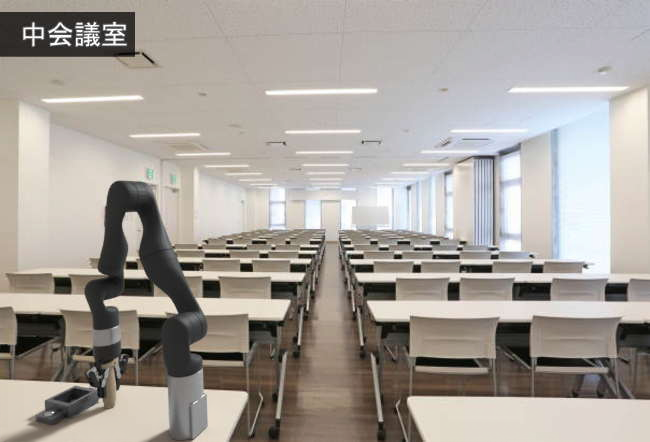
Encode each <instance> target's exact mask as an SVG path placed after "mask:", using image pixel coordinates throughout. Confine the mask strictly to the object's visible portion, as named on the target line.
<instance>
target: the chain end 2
mask: <svg viewBox="0 0 650 442" xmlns="http://www.w3.org/2000/svg"><path fill="white" fill-rule="evenodd" d="M72 387H73V388H74V393H75V400H73V401H71V402H70V404H72V407H73V417H72V418H74V417H75V416H77V415H79V414H81V413H82V412H84V411H86V410H88V409H90V408H91V407H93V406H95V405H96V404H99V402H100V401H99V400H100V399H101V398H99V397H98V395H97V388H95V387H91V386H89V387H83V386H79V385H73V386H72Z"/></svg>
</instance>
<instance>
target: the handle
mask: <svg viewBox="0 0 650 442" xmlns="http://www.w3.org/2000/svg"><path fill="white" fill-rule="evenodd" d="M117 360H118V357H117V358H115V359H113V360H111V361H109V362H107V363H104V364H102V365H101V367H102V369H106V368H110V369H109V373H108V378H107V379H106V383H105V386H106V397H105V398H101V399H102V403H103V408H104V410H110V409H112V408H114V407H115V406H116V403H117V391H116V380H115V371H114V366H115V365H116V364H117ZM102 375H104V374H102Z"/></svg>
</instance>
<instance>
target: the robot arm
mask: <svg viewBox="0 0 650 442" xmlns="http://www.w3.org/2000/svg"><path fill="white" fill-rule="evenodd" d="M106 195H107V196H106V202H105V204H106V206H105V217H104V235H103V242H102V247H101V251H100V255H99V258H98V261H97V271H98V272H99V273H100V274H101V275H105V276H106V277H101V278H95V279H91V280H89V281H88V282H87V283H86V284H85V286H84V291H83V293H84V297H85V300H86V301H87V302H86V303H87V305H88V308H89V310H90V314H91V316H92V334H91V335H92V355H93V356H92V357H93V359H94V364H93V366H92V368H90V369H89V370H88V369H87V370H85V371H84V376H85V378H86V380H87V382H88V385H89V387H91V388H97V395H98V397H99V398H100V399H102V398H105V397H106V386H105V383H106V379H107V378H108V373H109V369H110V368H106V369H102V367H101V365H102V364H104V363H107V362H109V361H111V360H113V359H115V358H117V357H118V360H117V364H116V365H115V366H114V371H115V380H116V392H117V391H120V387H121V377H122V376H123V375H125V374H126V371H127V367H128V363H129V360H130V359H129V357H130V355H129V354H126V353H122V335H121V334H122V333H121V326H120V313H119V308H118V306H114V305H108V306H107V305H106V304H105V303H104V302H105V301H108V300H113V299H115V298H117V297H119V296H120V295H122V294H123V292H124V290H125V272H124V270H125V269H124V268H125V266H126V265H125V264H126V262H127V258H128V253H129V242H128V240H127V237H126V236H125V231H124V228H123V220H124V218H125V216H126V213H137V215H138V217H139V219H140V222H141V226H142V235H141V240H140V243H139V247H138V248H139V249H138V257H139V261H140V263H141V267H142V268H143V271H144V274H145V275H146V277H147V279H148V281H150V282H151V283H152V284H153V285H154V286H155V287H156V288H158V289H159V290H161V292H163V293H164V294H165V295H166V296H168V297H169V299H170V300H171V302H172V303H173V305H174V307H175V309H176V311H177V314H175V315H172V316H169V317H168V318H167V319H166V320H164V322H163V324H162V327H161V343H162V344H161V345H162V353H163V362H164V364H165V367H166V371H167V374H166V375H167V395H168V396H167V398H168V399H167V401H168V402H167V403H168V421H169V422H168V424H169V437H170V438H171V439H173V440H175V441H185V440H194V439H195V438H196V437H198V436H199V435H200V433H202V432H203V431H204V430H205V429H206V428H207V427H208V426H209V425H208V424H209V423H208V422H209V421H208V396H207V393H205V392H204V364H203V363H204V362H203V357H202V356H201V355H199V354H197V353H191V345H193V344H195V343H197V342H199V341H201V340H202V339H204V338H205V337H206V336H207V333H208V322H207V318H206V316H205V313H204V311H203V310H202V308H201V306H200V304H199V303H198V300H197V299H196V297H195V295H194V293H193V291H192V289H191V288H190V285H189V282H188V281H187V279H186V275H185V274H184V272H183V270H182V267H181V265H180V262H179V259H178V255H177V254H176V251H175V249H174V247H173V244H172V242H171V240H170V237H169V235H168V233H167V230H166V228H165V224H164V222H163V219H162V217H161V212H160V209H159V205H158V201H157V199H156V195H155V193H154V191H153V189H152V187H151V185H150V184H148V183H146V182H145V181H135V180H116V181H114V182H112V184H110V186H109V188H108V191H107V194H106ZM121 353H122V354H121ZM102 374H104V375H102Z"/></svg>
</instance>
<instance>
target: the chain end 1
mask: <svg viewBox="0 0 650 442" xmlns="http://www.w3.org/2000/svg"><path fill="white" fill-rule="evenodd" d="M73 401H75V393H74V388H73V386H72V387H69V388H67V389H65V390H63V391H61V392H59V393H57V394H55V395H53V396H51V397H48V398H47V399H45V400H44V410H43V411H41V412H39V413H38V414H37V413H36V415H35V422H37V423H42V424H45V425H49V426H53V425H56V424H57V423H59V422H61V421H63V420H64V419H66V420H70V419H72V418H74V417H73V407H72V404H70V403H71V402H73Z"/></svg>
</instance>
